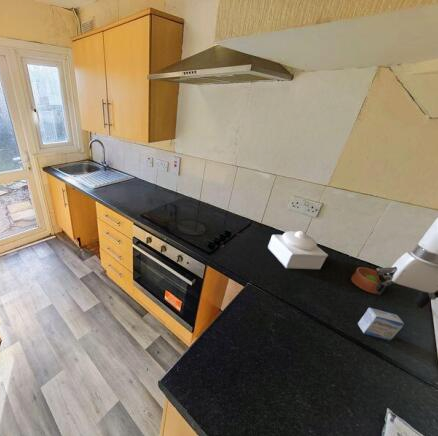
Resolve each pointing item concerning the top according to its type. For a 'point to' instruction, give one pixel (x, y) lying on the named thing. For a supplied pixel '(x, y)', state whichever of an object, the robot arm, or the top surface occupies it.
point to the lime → (371, 278)
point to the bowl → (365, 279)
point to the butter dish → (297, 250)
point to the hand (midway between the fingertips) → (397, 298)
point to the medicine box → (380, 324)
